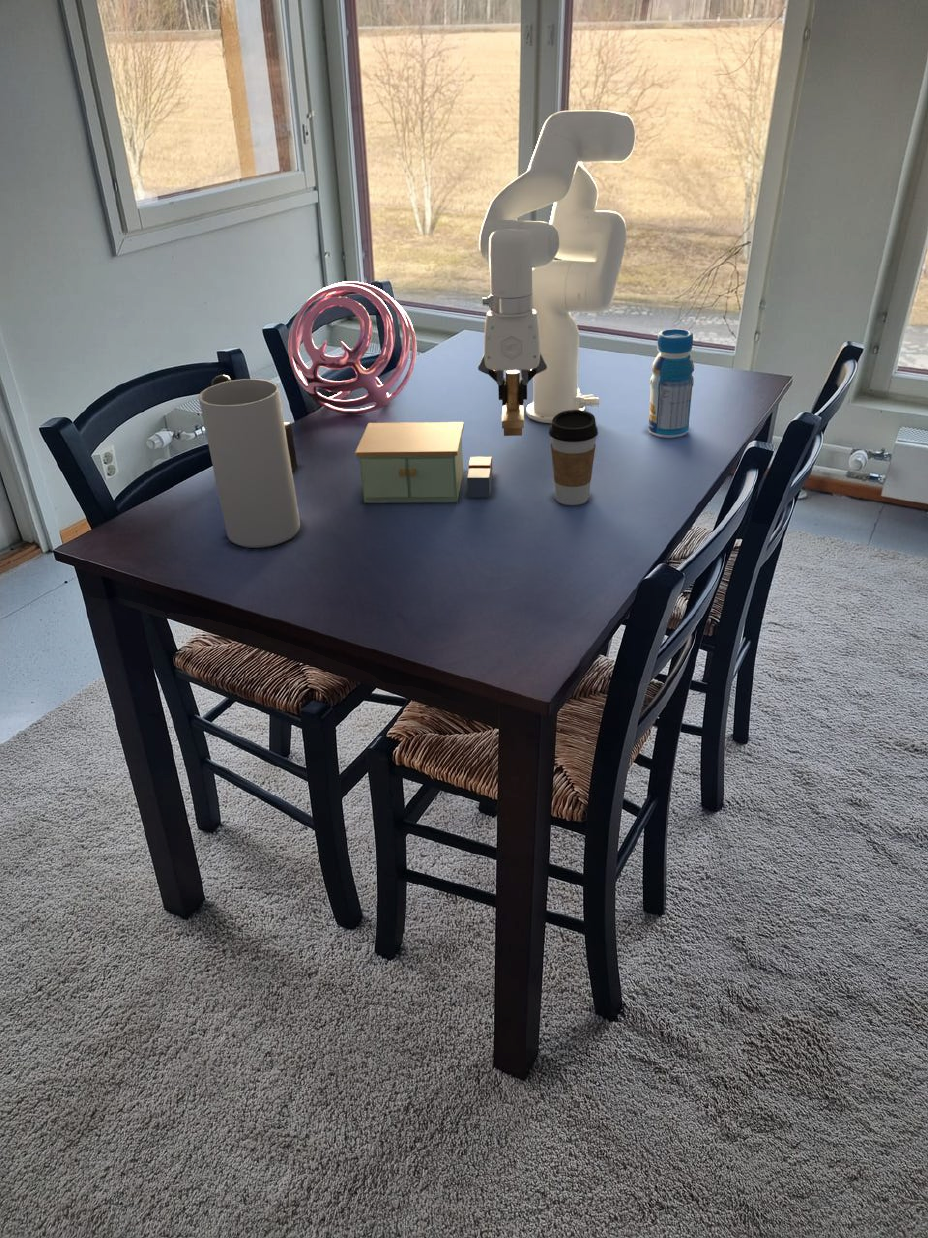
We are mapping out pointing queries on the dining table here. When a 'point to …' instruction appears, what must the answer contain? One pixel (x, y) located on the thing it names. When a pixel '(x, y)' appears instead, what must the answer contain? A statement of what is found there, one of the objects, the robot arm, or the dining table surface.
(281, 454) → the cylinder vase
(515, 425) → the brush
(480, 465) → the terracotta block
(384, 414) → the dining table surface
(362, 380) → the pink openwork sphere
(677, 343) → the beverage bottle
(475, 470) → the slate block
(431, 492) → the cabinet
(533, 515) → the dining table surface
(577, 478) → the coffee cup
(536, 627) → the dining table surface
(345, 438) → the dining table surface
